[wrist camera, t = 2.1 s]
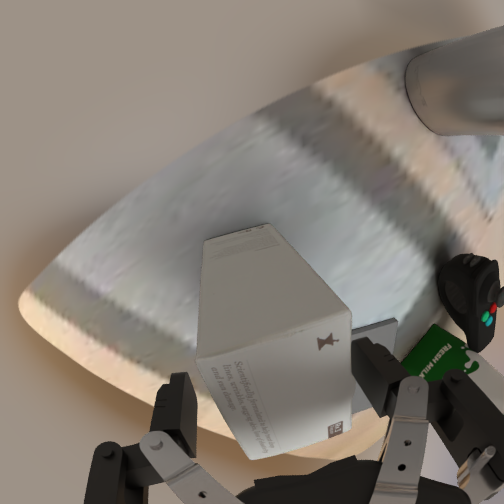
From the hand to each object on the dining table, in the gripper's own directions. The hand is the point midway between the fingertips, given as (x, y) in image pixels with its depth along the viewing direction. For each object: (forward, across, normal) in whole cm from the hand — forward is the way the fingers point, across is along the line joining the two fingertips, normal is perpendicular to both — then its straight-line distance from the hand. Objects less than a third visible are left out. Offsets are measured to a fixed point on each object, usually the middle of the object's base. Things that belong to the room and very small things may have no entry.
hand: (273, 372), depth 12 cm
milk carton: (+12, -22, +16) cm, 30 cm away
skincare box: (+12, 0, 0) cm, 12 cm away
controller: (+12, -23, +6) cm, 27 cm away
